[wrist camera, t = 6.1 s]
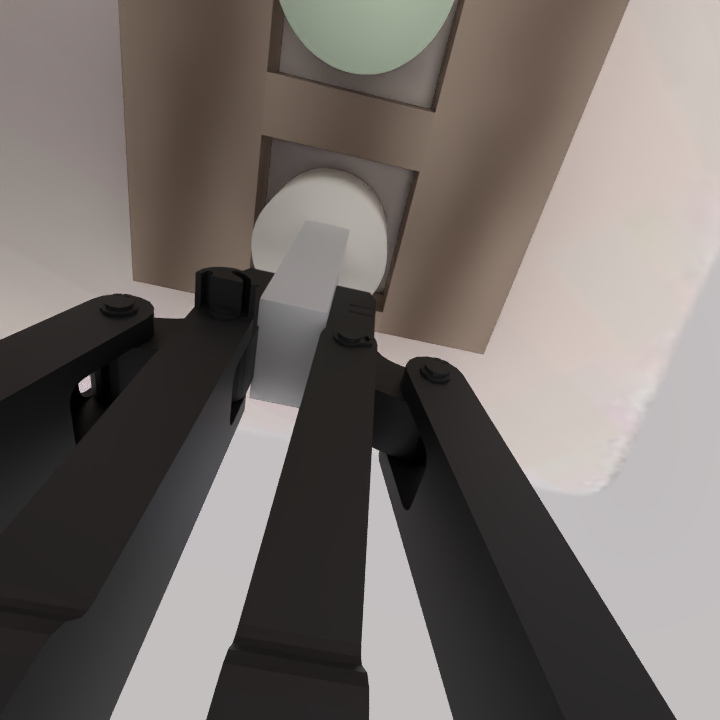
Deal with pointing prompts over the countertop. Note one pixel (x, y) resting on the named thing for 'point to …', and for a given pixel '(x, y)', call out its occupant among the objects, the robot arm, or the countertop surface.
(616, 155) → the countertop surface
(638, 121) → the countertop surface
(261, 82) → the wooden tray
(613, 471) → the countertop surface
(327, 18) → the sage button
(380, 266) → the cream button
